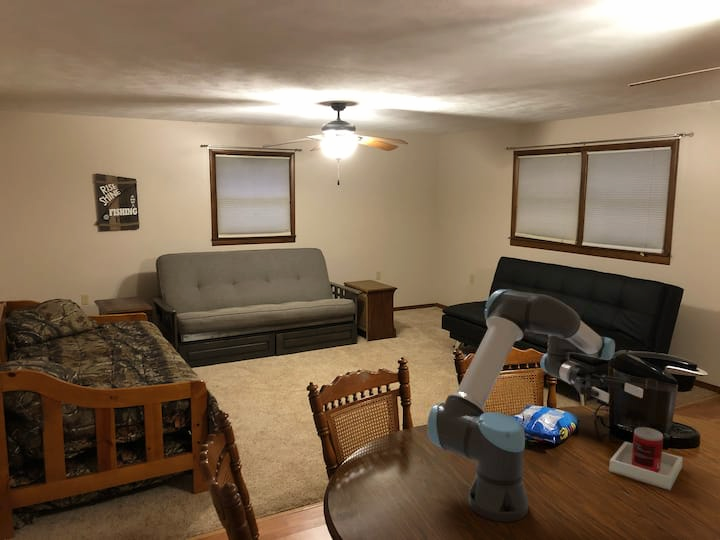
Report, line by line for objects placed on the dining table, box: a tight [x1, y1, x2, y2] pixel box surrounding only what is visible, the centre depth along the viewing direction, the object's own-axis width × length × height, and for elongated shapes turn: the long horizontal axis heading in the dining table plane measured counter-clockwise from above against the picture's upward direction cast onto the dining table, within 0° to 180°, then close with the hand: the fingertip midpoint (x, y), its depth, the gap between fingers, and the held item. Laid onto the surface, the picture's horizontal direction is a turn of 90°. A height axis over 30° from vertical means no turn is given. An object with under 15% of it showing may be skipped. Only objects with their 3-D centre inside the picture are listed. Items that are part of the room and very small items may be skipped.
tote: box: [608, 441, 684, 491], centre depth 162 cm, size 16×16×4 cm
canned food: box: [632, 426, 664, 473], centre depth 162 cm, size 8×8×11 cm
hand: (625, 395), depth 169 cm, fingers open, 13 cm apart
